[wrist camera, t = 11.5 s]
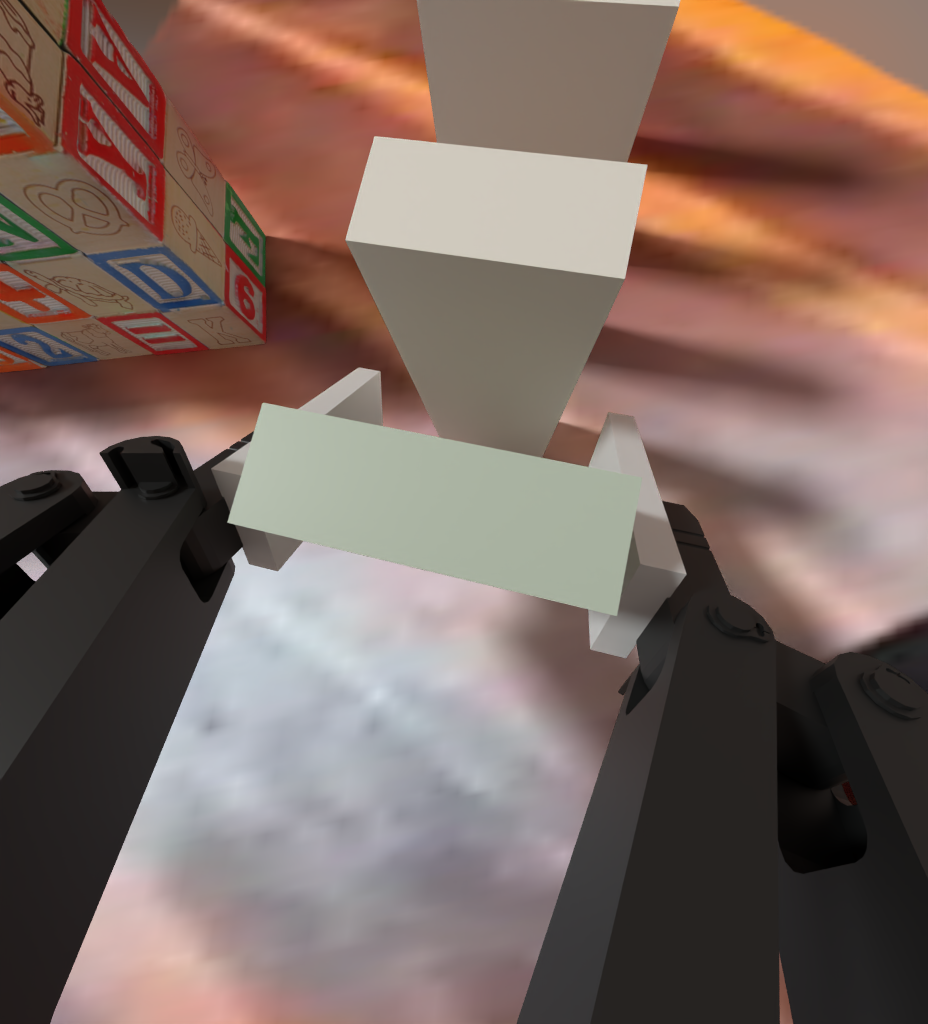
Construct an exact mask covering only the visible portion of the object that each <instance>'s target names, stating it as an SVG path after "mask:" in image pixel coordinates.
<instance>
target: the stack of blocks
mask: <svg viewBox="0 0 928 1024" xmlns="http://www.w3.org/2000/svg"><path fill="white" fill-rule="evenodd" d="M265 243H266V237H265V234H264V233H263V232H262V230H261V229H260V227H259V226H258V224H257V223H256V221H255V220H254V218H253V217H252V215H251V214H250V213H249V211H248V210H247V208H246V207H245V205H244V204H243V202H242V201H241V200H240V198H239V197H238V196H237V194H236V193H235V191H234V190H233V189H232V187H231V186H230V184H229V183H228V182H227V181H226V180H224V178H223V177H222V175H221V173H220V172H219V170H218V169H217V167H216V166H215V164H214V163H213V161H212V160H211V158H210V157H209V156H208V154H207V153H206V151H205V150H204V148H203V147H202V145H201V144H200V143H199V141H198V140H197V138H196V137H195V135H194V134H193V132H192V131H191V130H190V128H189V127H188V125H187V124H186V122H185V121H184V120H183V118H182V117H181V115H180V114H179V113H178V111H177V110H176V108H175V107H174V106H173V104H172V103H171V101H170V100H169V99H168V98H167V97H166V96H165V94H164V91H163V89H162V87H161V85H160V84H159V82H158V81H157V79H156V78H155V76H154V75H153V74H152V72H151V71H150V69H149V68H148V66H147V65H146V63H145V62H144V60H143V59H142V57H141V56H140V54H139V53H138V52H137V50H136V49H135V48H134V47H133V45H132V44H131V43H130V41H129V40H128V38H127V37H126V35H125V34H124V32H123V31H122V29H121V28H120V26H119V25H118V23H117V22H116V20H115V19H114V17H113V16H112V15H111V14H110V13H109V12H108V10H107V9H106V8H105V6H104V4H103V3H102V0H0V372H12V371H22V370H32V369H40V368H46V367H47V366H57V365H65V364H74V363H83V362H92V361H98V360H101V359H105V360H106V359H115V358H123V357H132V356H142V355H150V354H155V355H162V354H172V353H181V352H190V351H199V350H209V349H222V348H231V347H240V346H250V345H259V344H264V343H266V289H265Z"/></svg>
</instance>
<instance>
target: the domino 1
mask: <svg viewBox="0 0 928 1024" xmlns="http://www.w3.org/2000/svg"><path fill="white" fill-rule="evenodd" d="M679 3H680V0H417V5H418V12H419V19H420V26H421V33H422V40H423V47H424V54H425V61H426V68H427V75H428V82H429V89H430V96H431V103H432V110H433V117H434V124H435V131H436V138H437V143H444V144H454V145H463V146H473V147H482V148H492V149H502V150H511V151H521V152H530V153H540V154H550V155H559V156H569V157H578V158H588V159H597V160H607V161H617V162H626V163H627V161H628V158H629V155H630V152H631V149H632V146H633V143H634V140H635V137H636V134H637V131H638V128H639V125H640V122H641V119H642V116H643V113H644V110H645V107H646V104H647V101H648V98H649V95H650V92H651V89H652V86H653V83H654V80H655V77H656V74H657V71H658V68H659V65H660V62H661V59H662V56H663V53H664V50H665V47H666V44H667V41H668V38H669V35H670V32H671V29H672V26H673V23H674V20H675V17H676V14H677V11H678V8H679Z"/></svg>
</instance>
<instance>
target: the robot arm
mask: <svg viewBox="0 0 928 1024" xmlns="http://www.w3.org/2000/svg"><path fill="white" fill-rule="evenodd" d="M298 410H303V411H308V412H313V413H318V414H323V415H328V416H334V417H339V418H344V419H349V420H354V421H359V422H364V423H369V424H374V425H379V426H383V416H382V394H381V373H380V371H376V370H371V369H365V368H357V369H356V370H354V371H353V372H351V373H350V374H348V375H347V376H346V377H344V378H343V379H341V380H340V381H338V382H337V383H335V384H334V385H332V386H331V387H329V388H328V389H327V390H325V391H324V392H322V393H321V394H319V395H318V396H316V397H315V398H313V399H312V400H311V401H309V402H308V403H306V404H305V405H303V406H302V407H300V408H299V409H298ZM253 434H254V431H253V432H252V433H250V434H249V435H247V436H246V437H244V438H243V439H241V442H239V441H238V442H236V443H235V444H233V445H232V446H230V449H226V450H224V451H223V452H221V453H220V454H218V455H217V456H215V457H214V458H212V459H211V460H209V461H208V462H206V463H205V464H203V465H202V466H200V467H199V468H197V469H195V470H194V471H193V469H192V467H191V465H190V462H189V460H188V458H187V456H186V453H185V451H184V449H183V446H182V445H181V443H180V442H179V441H178V440H175V439H173V438H170V437H161V436H151V437H140V438H135V439H130V440H125V441H123V442H120V443H117V444H115V445H112V446H110V447H108V448H106V449H105V450H103V451H102V452H100V455H101V457H102V458H103V460H104V462H105V463H106V465H107V467H108V468H109V470H110V471H111V473H112V475H113V476H114V478H115V480H116V481H117V483H118V485H119V486H120V488H121V490H120V491H119V492H92V491H91V490H90V488H89V487H88V485H87V484H86V482H85V481H84V479H83V478H82V477H81V475H80V474H79V473H75V472H72V471H57V470H51V471H44V472H43V471H41V472H36V473H32V474H30V475H28V476H25V477H21V478H18V479H16V480H14V481H12V482H9V483H7V484H5V485H3V486H1V487H0V1024H50V1022H51V1019H52V1016H53V1013H54V1011H55V1008H56V1006H57V1003H58V1001H59V999H60V996H61V994H62V991H63V989H64V986H65V984H66V982H67V979H68V977H69V974H70V972H71V969H72V967H73V965H74V962H75V960H76V957H77V955H78V952H79V950H80V948H81V945H82V943H83V940H84V938H85V935H86V933H87V931H88V928H89V926H90V923H91V921H92V918H93V916H94V914H95V911H96V909H97V906H98V904H99V901H100V899H101V897H102V894H103V892H104V889H105V887H106V884H107V882H108V879H109V877H110V875H111V872H112V870H113V867H114V865H115V862H116V860H117V858H118V855H119V853H120V850H121V848H122V845H123V843H124V841H125V838H126V836H127V833H128V831H129V828H130V826H131V824H132V821H133V819H134V816H135V814H136V811H137V809H138V807H139V804H140V802H141V799H142V797H143V794H144V792H145V790H146V787H147V785H148V782H149V780H150V777H151V775H152V773H153V770H154V768H155V765H156V763H157V760H158V758H159V756H160V753H161V751H162V748H163V746H164V743H165V741H166V739H167V736H168V734H169V731H170V729H171V726H172V724H173V722H174V719H175V717H176V714H177V712H178V709H179V707H180V705H181V702H182V700H183V697H184V695H185V692H186V690H187V688H188V685H189V683H190V680H191V678H192V675H193V673H194V671H195V668H196V666H197V663H198V661H199V658H200V656H201V653H202V651H203V649H204V646H205V644H206V641H207V639H208V636H209V634H210V632H211V629H212V627H213V624H214V622H215V619H216V617H217V615H218V612H219V610H220V607H221V605H222V602H223V600H224V598H225V595H226V593H227V590H228V588H229V585H230V583H231V581H232V578H233V576H234V572H235V565H234V563H233V560H232V557H233V556H234V555H235V554H236V553H237V552H238V551H239V550H240V549H241V548H242V547H243V550H244V552H245V555H246V557H247V560H248V562H249V564H251V565H255V566H259V567H263V568H267V569H271V570H275V571H279V569H280V568H281V567H282V566H283V565H284V563H285V562H286V561H287V560H288V559H289V557H290V556H291V555H292V554H293V553H294V551H295V550H296V549H297V548H298V547H299V545H300V544H301V543H302V542H303V541H302V540H297V539H293V538H289V537H285V536H281V535H277V534H272V533H268V532H264V531H260V530H256V529H252V528H247V527H243V526H239V525H235V524H231V523H227V522H228V519H229V515H230V512H231V508H232V505H233V502H234V498H235V495H236V491H237V488H238V485H239V481H240V478H241V474H242V471H243V468H244V464H245V461H246V457H247V454H248V451H249V447H250V444H251V440H252V437H253ZM589 467H591V468H596V469H601V470H606V471H611V472H616V473H621V474H626V475H631V476H637V477H642V482H641V488H640V493H639V499H638V504H637V510H636V515H635V521H634V526H633V531H632V537H631V542H630V548H629V553H628V559H627V564H626V569H625V575H624V580H623V586H622V591H621V597H620V602H619V608H618V613H617V616H614V615H609V614H605V613H601V612H597V611H593V610H589V609H588V614H589V634H590V650H594V651H598V652H602V653H606V654H610V655H614V656H618V657H622V658H627V656H628V655H629V653H630V652H631V651H632V649H633V648H634V647H635V645H636V644H637V649H638V655H639V661H640V664H639V665H638V666H637V668H636V669H635V670H634V671H633V673H632V674H631V675H630V677H629V678H628V679H627V680H626V682H625V683H624V684H623V686H622V687H621V689H620V690H619V691H618V693H620V694H622V695H624V694H625V696H624V699H623V702H622V705H621V708H620V711H619V714H618V717H617V720H616V723H615V726H614V729H613V732H612V736H611V739H610V742H609V745H608V748H607V751H606V754H605V757H604V760H603V763H602V766H601V769H600V772H599V775H598V778H597V781H596V784H595V787H594V790H593V793H592V796H591V799H590V802H589V805H588V808H587V811H586V814H585V818H584V821H583V824H582V827H581V830H580V833H579V836H578V839H577V842H576V845H575V848H574V851H573V854H572V857H571V860H570V863H569V866H568V869H567V872H566V875H565V878H564V881H563V884H562V887H561V890H560V893H559V896H558V900H557V903H556V906H555V909H554V912H553V915H552V918H551V921H550V924H549V927H548V930H547V933H546V936H545V939H544V942H543V945H542V948H541V951H540V954H539V957H538V960H537V963H536V966H535V969H534V972H533V975H532V978H531V982H530V985H529V988H528V991H527V994H526V997H525V1000H524V1003H523V1006H522V1009H521V1012H520V1015H519V1018H518V1021H517V1024H780V1006H779V953H780V958H781V963H782V968H783V973H784V978H785V983H786V988H787V993H788V998H789V1003H790V1009H791V1014H792V1019H793V1024H928V694H927V693H926V692H925V691H924V690H923V689H922V688H921V687H919V686H918V685H917V684H916V683H915V682H914V681H913V680H912V679H910V678H909V677H908V676H906V675H905V674H903V673H902V672H900V671H898V670H897V669H895V668H893V667H892V666H890V665H889V664H887V663H884V662H882V661H880V660H877V659H875V658H873V657H870V656H868V655H863V654H858V653H853V652H849V653H844V654H840V655H838V656H837V657H835V658H834V659H832V660H831V661H829V662H828V663H827V664H825V663H822V662H820V661H818V660H816V659H814V658H812V657H809V656H807V655H805V654H803V653H801V652H799V651H797V650H794V649H792V648H790V647H788V646H786V645H784V644H782V643H780V642H778V641H776V640H775V638H774V635H773V631H772V629H771V628H770V627H769V625H768V624H767V623H766V621H765V620H764V618H763V617H762V616H761V615H760V614H758V613H757V612H756V611H755V610H754V609H753V608H751V607H750V606H749V605H748V604H746V603H744V602H742V601H741V600H739V599H737V598H736V597H734V596H731V595H730V593H729V591H728V588H727V586H726V584H725V582H724V579H723V577H722V575H721V572H720V570H719V568H718V565H717V563H716V561H715V559H714V556H713V554H712V552H711V551H709V549H710V547H709V545H708V542H707V540H706V538H704V533H703V531H702V529H701V526H700V524H699V522H698V520H697V519H696V518H695V517H694V516H693V515H692V514H691V513H690V512H689V511H688V509H687V508H686V507H685V506H684V505H680V504H675V503H670V502H665V501H662V500H661V497H660V494H659V491H658V488H657V485H656V482H655V479H654V476H653V473H652V470H651V467H650V464H649V461H648V458H647V455H646V452H645V449H644V446H643V443H642V440H641V437H640V434H639V431H638V428H637V425H636V422H635V419H634V417H633V416H628V415H622V414H617V413H611V412H608V415H607V417H606V420H605V423H604V426H603V428H602V431H601V434H600V436H599V439H598V442H597V445H596V447H595V450H594V453H593V456H592V458H591V461H590V464H589ZM31 552H33V553H34V555H35V556H36V557H37V558H38V559H39V560H40V561H41V562H42V563H43V564H44V565H45V566H46V568H47V570H46V571H45V572H44V574H43V575H42V576H41V577H40V578H39V579H38V580H37V581H34V580H32V579H31V578H30V577H29V576H28V575H27V574H26V573H25V572H24V571H23V570H22V569H21V568H20V567H19V566H18V565H17V564H16V563H17V562H18V561H20V560H21V559H22V558H24V557H25V556H27V555H28V554H29V553H31ZM625 692H626V693H625ZM848 781H849V783H850V786H851V789H852V791H853V794H854V796H855V799H856V802H857V805H852V804H851V803H850V802H849V800H848V798H847V796H846V794H845V792H844V790H843V787H842V784H843V783H845V782H848Z"/></svg>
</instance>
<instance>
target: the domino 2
mask: <svg viewBox="0 0 928 1024" xmlns="http://www.w3.org/2000/svg"><path fill="white" fill-rule="evenodd" d="M646 170H647V165H645V164H636V163H626V162H617V161H607V160H597V159H588V158H578V157H569V156H559V155H550V154H540V153H530V152H521V151H511V150H502V149H492V148H482V147H473V146H463V145H454V144H444V143H434V142H425V141H415V140H406V139H396V138H386V137H377V136H375V137H374V140H373V144H372V147H371V151H370V154H369V158H368V161H367V165H366V169H365V172H364V176H363V179H362V183H361V186H360V190H359V193H358V197H357V201H356V204H355V208H354V211H353V215H352V218H351V222H350V225H349V229H348V232H347V236H346V240H345V241H346V243H347V245H348V247H349V249H350V251H351V253H352V255H353V257H354V259H355V261H356V264H357V266H358V268H359V270H360V272H361V274H362V276H363V278H364V280H365V282H366V284H367V287H368V289H369V291H370V293H371V295H372V297H373V299H374V301H375V303H376V305H377V307H378V310H379V312H380V314H381V316H382V318H383V320H384V322H385V324H386V326H387V328H388V330H389V333H390V335H391V337H392V339H393V341H394V343H395V345H396V347H397V349H398V351H399V353H400V356H401V358H402V360H403V362H404V364H405V366H406V368H407V370H408V372H409V374H410V376H411V379H412V381H413V383H414V385H415V387H416V389H417V391H418V393H419V395H420V397H421V399H422V402H423V404H424V406H425V408H426V410H427V412H428V414H429V416H430V418H431V420H432V422H433V424H434V427H435V429H436V431H437V433H438V435H439V437H440V438H445V439H450V440H455V441H460V442H465V443H470V444H475V445H480V446H485V447H490V448H495V449H500V450H505V451H510V452H515V453H520V454H525V455H530V456H536V457H541V458H542V456H543V454H544V452H545V450H546V448H547V446H548V443H549V441H550V439H551V437H552V435H553V433H554V431H555V428H556V426H557V424H558V422H559V420H560V418H561V415H562V413H563V411H564V409H565V407H566V405H567V403H568V400H569V398H570V396H571V394H572V392H573V390H574V387H575V385H576V383H577V381H578V379H579V377H580V375H581V372H582V370H583V368H584V366H585V364H586V362H587V359H588V357H589V355H590V353H591V351H592V349H593V347H594V344H595V342H596V340H597V338H598V336H599V334H600V331H601V329H602V327H603V325H604V323H605V321H606V318H607V316H608V314H609V312H610V310H611V308H612V306H613V303H614V301H615V299H616V297H617V295H618V293H619V290H620V288H621V286H622V284H623V282H624V280H625V276H626V271H627V266H628V260H629V255H630V250H631V245H632V240H633V235H634V230H635V225H636V220H637V215H638V210H639V205H640V200H641V195H642V190H643V185H644V180H645V175H646Z"/></svg>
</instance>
